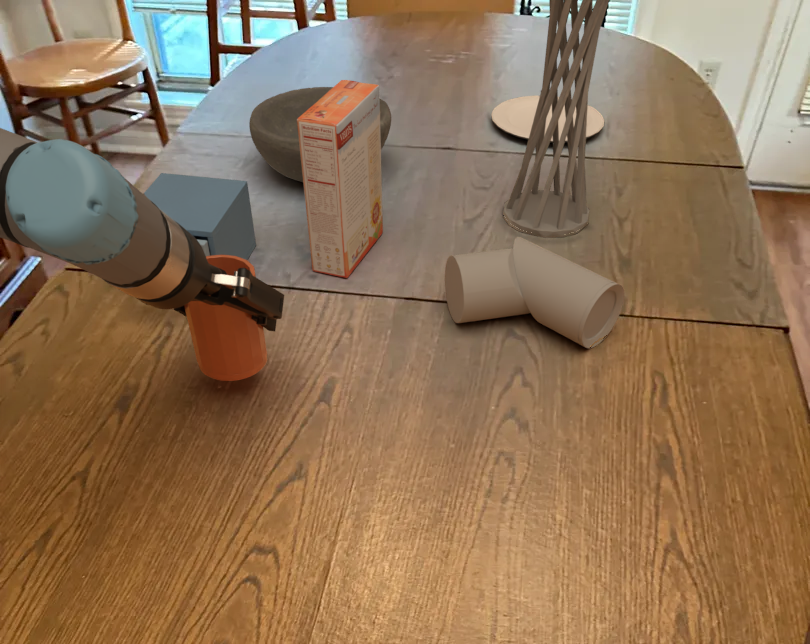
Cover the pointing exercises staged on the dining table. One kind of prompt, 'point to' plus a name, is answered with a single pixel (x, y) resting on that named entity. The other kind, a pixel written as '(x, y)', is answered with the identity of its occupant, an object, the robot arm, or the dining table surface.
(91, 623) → the dining table surface
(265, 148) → the bowl
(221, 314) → the clay cup
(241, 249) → the blue-grey drawer box
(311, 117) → the cracker box
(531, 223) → the vase
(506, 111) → the plate
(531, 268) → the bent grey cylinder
